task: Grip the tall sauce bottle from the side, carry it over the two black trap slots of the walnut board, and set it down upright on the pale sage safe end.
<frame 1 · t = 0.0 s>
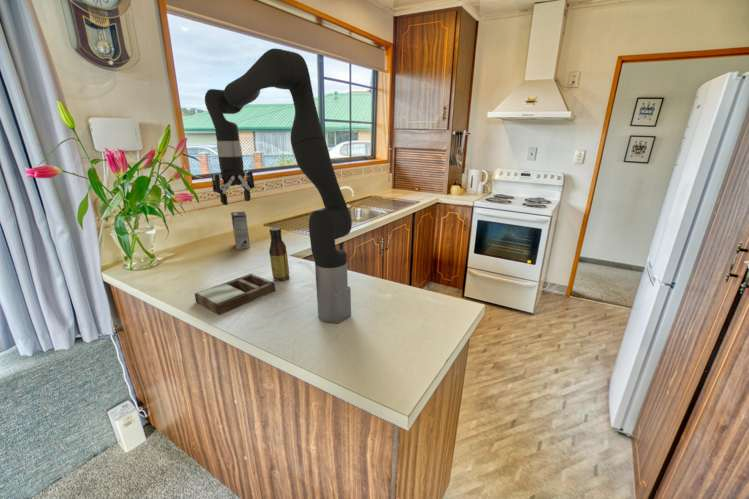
hand: (236, 202, 120), 29 cm above the counter, tool pointing down, fingers open, 8 cm apart
sauce bottle: (281, 279, 130), on the counter
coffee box: (242, 246, 167), on the counter
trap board: (237, 296, 116), on the counter
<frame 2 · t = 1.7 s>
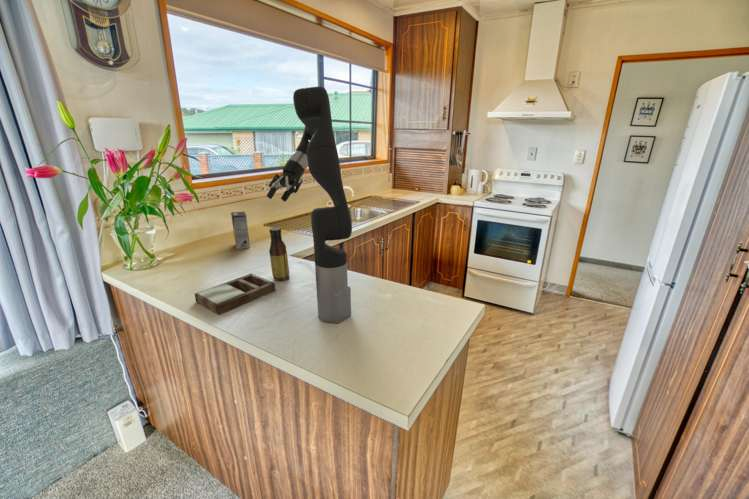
hand: (275, 198, 129), 29 cm above the counter, tool tilted 45°, fingers open, 8 cm apart
nothing on the counter moved.
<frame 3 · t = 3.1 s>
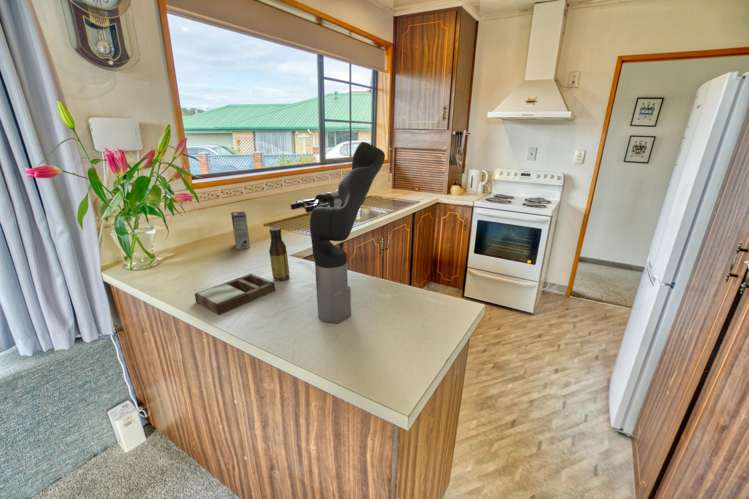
hand: (298, 208, 130), 25 cm above the counter, tool horizontal, fingers open, 8 cm apart
nothing on the counter moved.
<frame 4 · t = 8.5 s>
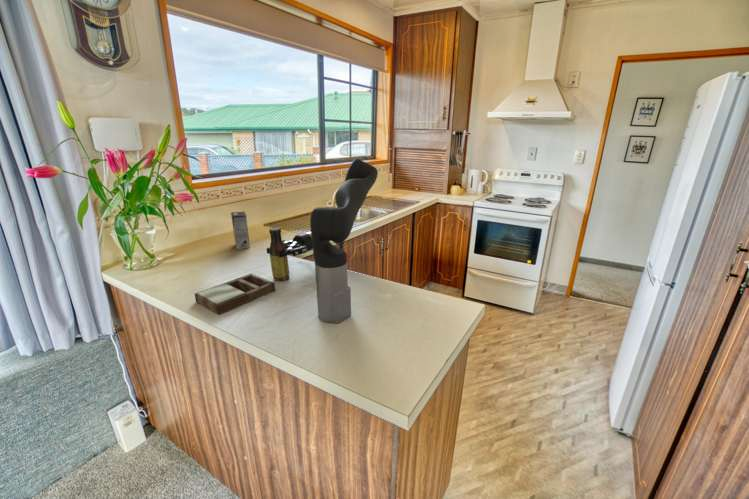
hand: (273, 252, 125), 11 cm above the counter, tool horizontal, fingers closed on sauce bottle, 6 cm apart
sauce bottle: (281, 278, 130), on the counter, touching gripper
everything else where it was.
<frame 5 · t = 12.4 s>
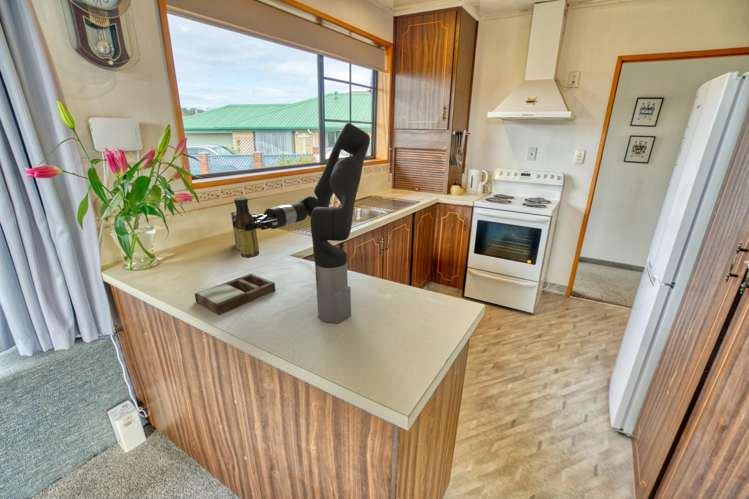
hand: (239, 226, 112), 24 cm above the counter, tool horizontal, fingers closed on sauce bottle, 6 cm apart
sauce bottle: (249, 256, 117), point 12 cm above the counter, touching gripper
everything else where it was.
when the fingers open (16 cm above the counter, at t = 16.5 s): sauce bottle drops 1 cm, resting on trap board.
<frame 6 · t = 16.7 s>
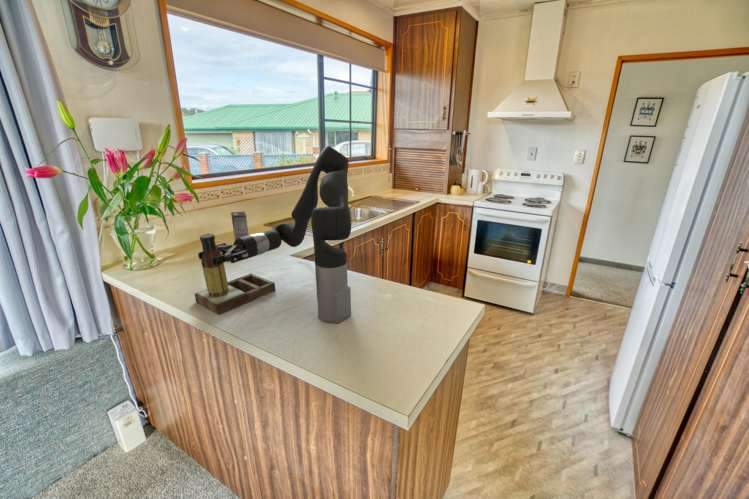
hand: (205, 259, 105), 16 cm above the counter, tool horizontal, fingers open, 7 cm apart
sauce bottle: (218, 294, 111), point 3 cm above the counter, touching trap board
everything else where it was.
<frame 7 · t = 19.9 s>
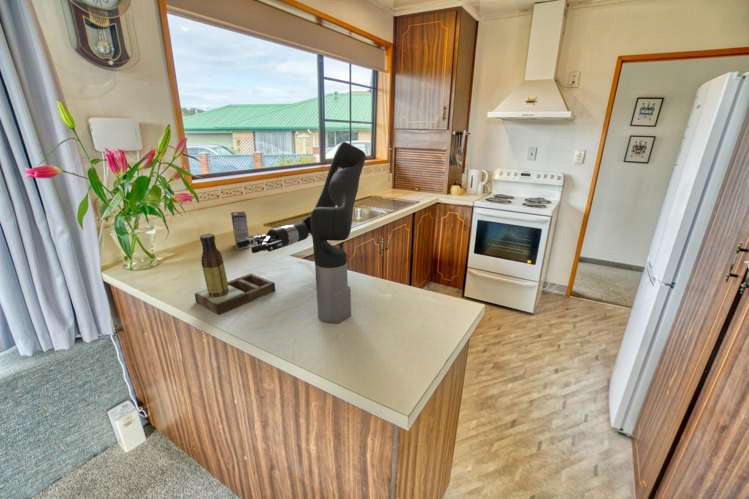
hand: (244, 247, 115), 16 cm above the counter, tool horizontal, fingers open, 8 cm apart
nothing on the counter moved.
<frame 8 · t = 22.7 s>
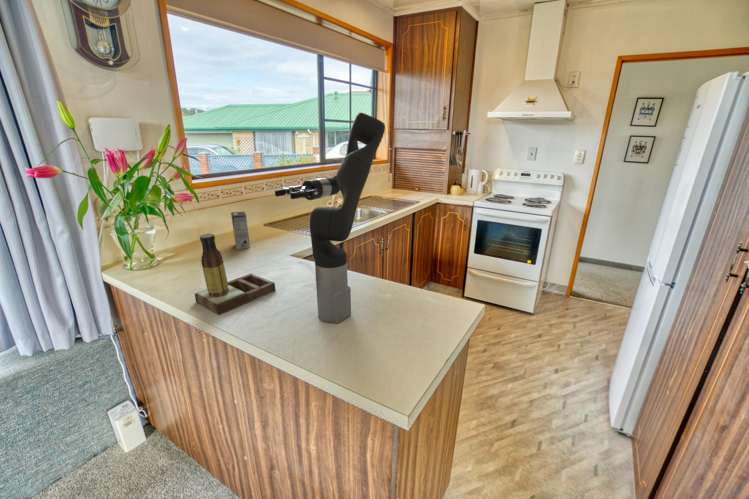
hand: (283, 194, 119), 32 cm above the counter, tool horizontal, fingers open, 8 cm apart
nothing on the counter moved.
at the end: sauce bottle inside the target area (0.2 cm from its centre), point 3.1 cm above the counter; sauce bottle tilted 0°; the gripper is holding nothing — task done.
